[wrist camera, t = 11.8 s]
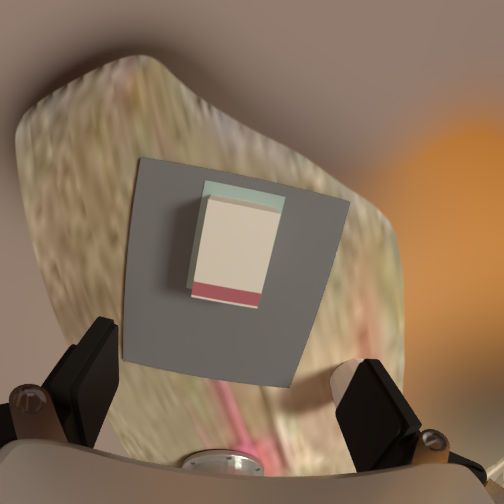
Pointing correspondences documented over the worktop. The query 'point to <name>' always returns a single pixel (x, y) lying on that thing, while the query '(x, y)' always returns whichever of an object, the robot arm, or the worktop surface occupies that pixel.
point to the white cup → (342, 379)
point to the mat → (216, 313)
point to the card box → (234, 251)
